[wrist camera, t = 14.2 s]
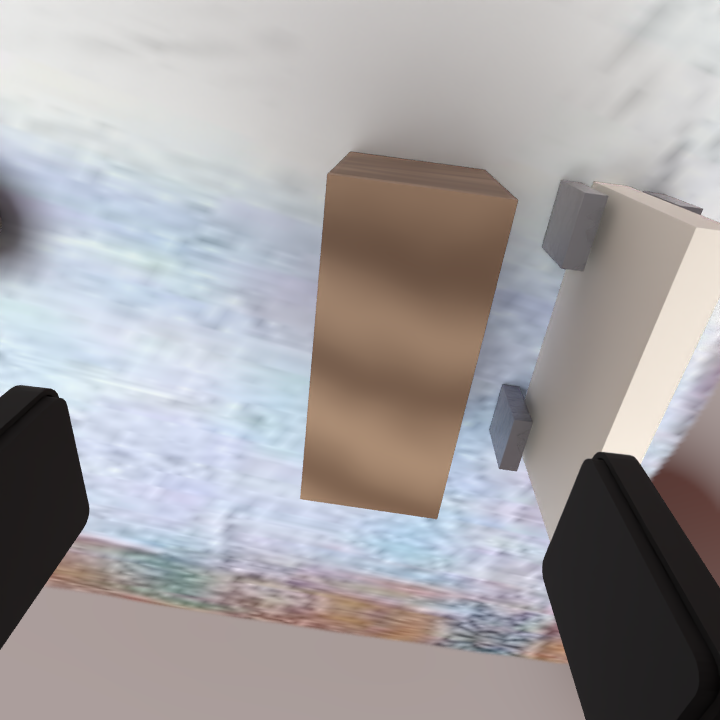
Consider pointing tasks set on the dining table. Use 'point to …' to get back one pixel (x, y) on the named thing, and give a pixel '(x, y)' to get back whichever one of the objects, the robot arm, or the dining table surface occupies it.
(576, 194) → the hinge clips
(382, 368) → the cabinet body
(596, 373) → the cabinet door
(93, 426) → the dining table surface
